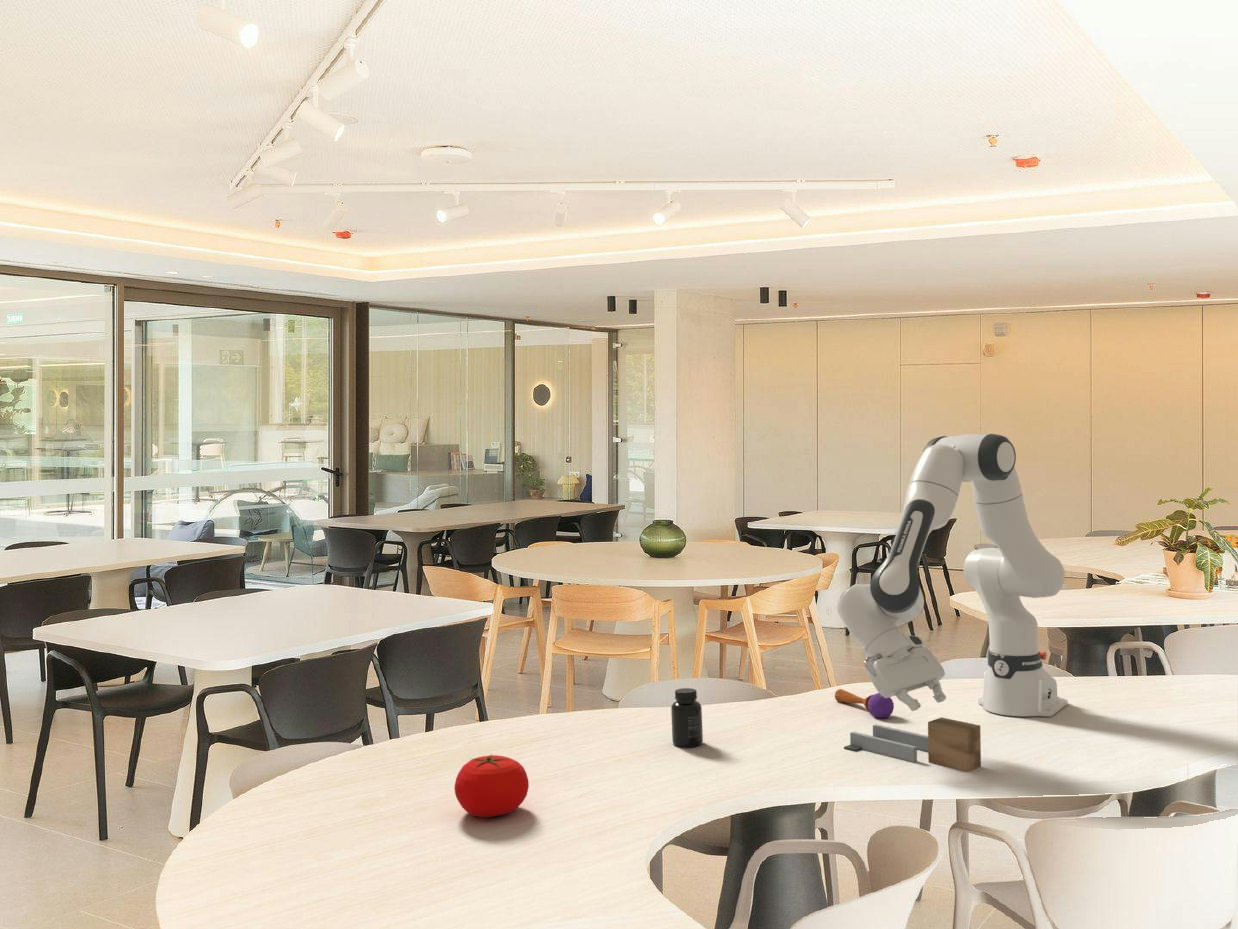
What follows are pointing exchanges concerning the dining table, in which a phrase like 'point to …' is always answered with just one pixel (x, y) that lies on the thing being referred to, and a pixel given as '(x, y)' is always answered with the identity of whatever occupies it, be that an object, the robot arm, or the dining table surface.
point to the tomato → (491, 786)
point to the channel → (889, 742)
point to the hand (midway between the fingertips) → (930, 704)
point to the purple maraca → (868, 703)
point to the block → (954, 744)
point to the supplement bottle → (686, 719)
